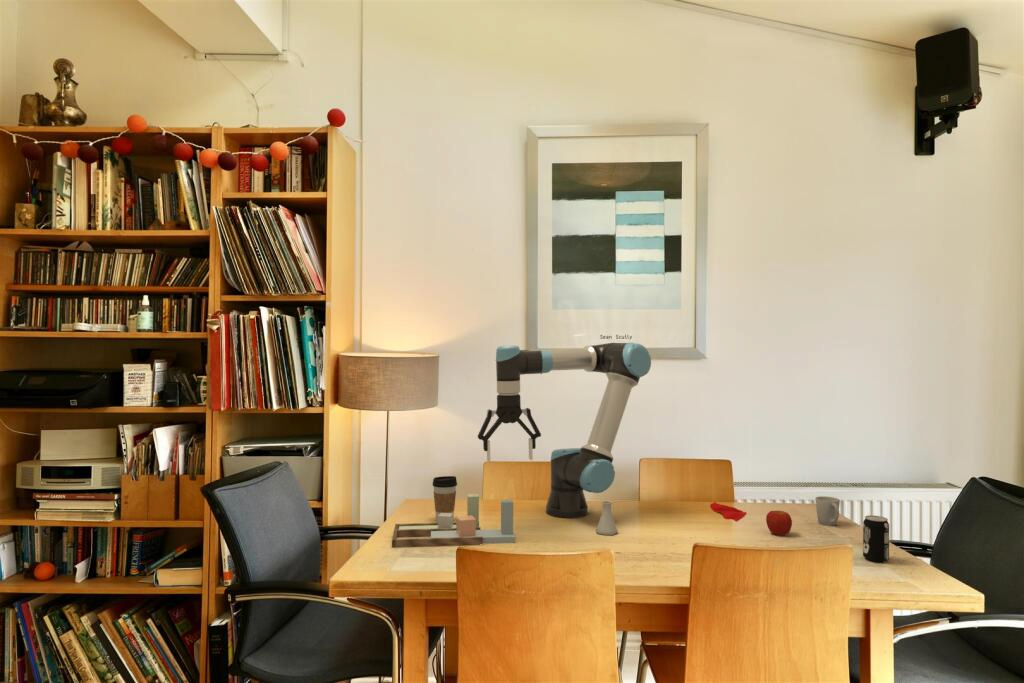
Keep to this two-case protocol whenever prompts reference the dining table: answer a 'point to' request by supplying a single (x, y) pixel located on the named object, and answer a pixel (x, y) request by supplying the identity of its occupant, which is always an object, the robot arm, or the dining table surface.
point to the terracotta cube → (465, 526)
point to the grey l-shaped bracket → (471, 510)
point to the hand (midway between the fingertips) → (509, 460)
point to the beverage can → (876, 539)
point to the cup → (827, 510)
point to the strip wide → (494, 534)
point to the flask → (606, 521)
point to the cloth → (728, 511)
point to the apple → (779, 522)
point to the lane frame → (427, 533)
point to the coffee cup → (444, 494)
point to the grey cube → (445, 520)
